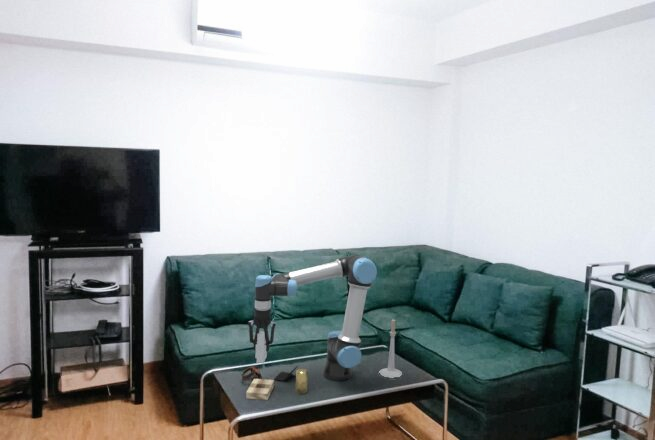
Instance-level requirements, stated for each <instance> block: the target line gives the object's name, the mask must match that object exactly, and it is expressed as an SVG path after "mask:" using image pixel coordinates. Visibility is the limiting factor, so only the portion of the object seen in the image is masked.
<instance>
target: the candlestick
mask: <svg viewBox="0 0 655 440" xmlns="http://www.w3.org/2000/svg"><path fill="white" fill-rule="evenodd" d="M390 324H391V325H390V331H389V335H390V341H389V342H390V343H389V344H390V345H389V350H388V351H389V353H388V362H387V367H385V368H382V369H380V370H379V372H378V374H379V373H380V374H381V375H382V376H384V377H389V378H394V377H400V376H401V375H402V373H403V372H402V371H401V370H399V369H397V368H396V367H395V365H396V364H395V336H396V334H397V332H396V319H394V318H393V319H391V323H390Z"/></svg>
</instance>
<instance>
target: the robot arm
mask: <svg viewBox="0 0 655 440" xmlns="http://www.w3.org/2000/svg"><path fill="white" fill-rule="evenodd" d="M377 270H378V269H377V266H376V265H375V263H374V262H373V261H372V260H371V259H369V258H368V257H365V256H362V255H361V254H351V255H347V256H343V257H340V258H336V260H335V261H332V262H328V263H323V264H319V265H316V266H311V267H305V268H302V269H298V270H295V271H294V270H293V271H290V272H284V273H280V272H278V273H274V274H273V275H272V276H271V275H267V274H262V275H261V274H260V275H257V276H256V278H255V285H254V287H255V288H254V308H255V309H254V315H253V316H254V317H253V319H252V320H249V321H247V325H248V327H249V334H248V335H249V342H250V344H251V343H252V345H253V351H255V357H254V358H255V359H257V334H258V333H259V331H261V329H263V332H264V333H265V340H266V344H265V345H264V359H265V360H266V359H267V356H268V352H269V351H270V345H272V344H273V343H274V341H275V340H274V339H275V330H276V329H275V328H276V325H277V322H275V321H272V319H271V318H272V317H271V316H272V315H271V311H272V309H271V308H272V297H291V296H296V295H297V293H298V287H299V286H302V285H306V284H310V283H315V282H319V281H323V280H327V279H332V278H335V277H340V278H344V277H348V278H347V284H348V285H349V291H348V297H347V300H346V301H347V302H346V307H345V311H344V312H345V313H344V319H343V323H342V329H341V330H333V331H330V332H328V333H327V344H326V345H327V348H326V362H325V365H324V368H323V371H322V376H323V378H326V379H327V380H331V381H340V382H341V380H342V381H347V380H346V379H348V380H349V378H350V379H351V378H352V377H353V370H352V369H353V368H354V367H356V366H358V365H359V364H360V362H361V360H362V351H361V350H360V349H361V342H362V339H360V337H359V335H360V331H361V325H362V321H363V320H362V319H363V315H364V308H365V305H366V298H367V293H368V290H369V289H370V288H371V287H372V283H373V281H374V280H375V279H376V277H377V274H378V271H377ZM254 325H255V334H254ZM269 325H270V327H271V328H270V336H269ZM351 376H352V377H351Z"/></svg>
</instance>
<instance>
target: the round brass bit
mask: <svg viewBox="0 0 655 440" xmlns="http://www.w3.org/2000/svg"><path fill="white" fill-rule="evenodd" d="M308 372H309V371H308V370H307V369H305V368H298V369H295V393H296V394H298V395H302V394H303V395H304V394H306V393H307V392H308V374H309V373H308Z"/></svg>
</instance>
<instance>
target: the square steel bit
mask: <svg viewBox="0 0 655 440" xmlns="http://www.w3.org/2000/svg"><path fill="white" fill-rule="evenodd" d="M265 344H266V340H265V333H264V331H261V330H259V333H258V334H257V358H256V364H257V363H258V364H264V363H265V362H266V359H264V345H265Z"/></svg>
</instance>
